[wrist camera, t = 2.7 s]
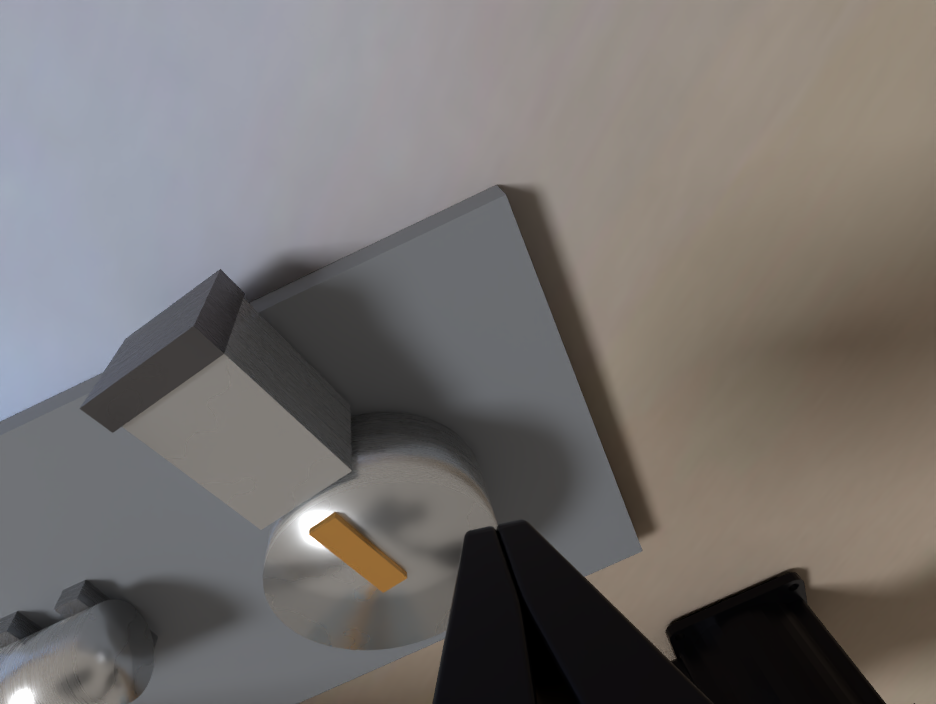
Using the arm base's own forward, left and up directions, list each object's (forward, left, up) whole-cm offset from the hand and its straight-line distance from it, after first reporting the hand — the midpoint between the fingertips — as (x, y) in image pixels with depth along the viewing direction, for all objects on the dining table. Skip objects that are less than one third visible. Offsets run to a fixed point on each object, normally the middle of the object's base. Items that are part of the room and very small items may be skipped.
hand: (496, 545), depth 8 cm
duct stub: (+15, +6, -9) cm, 18 cm away
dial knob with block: (+4, +3, -9) cm, 10 cm away
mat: (+7, +6, -10) cm, 13 cm away
